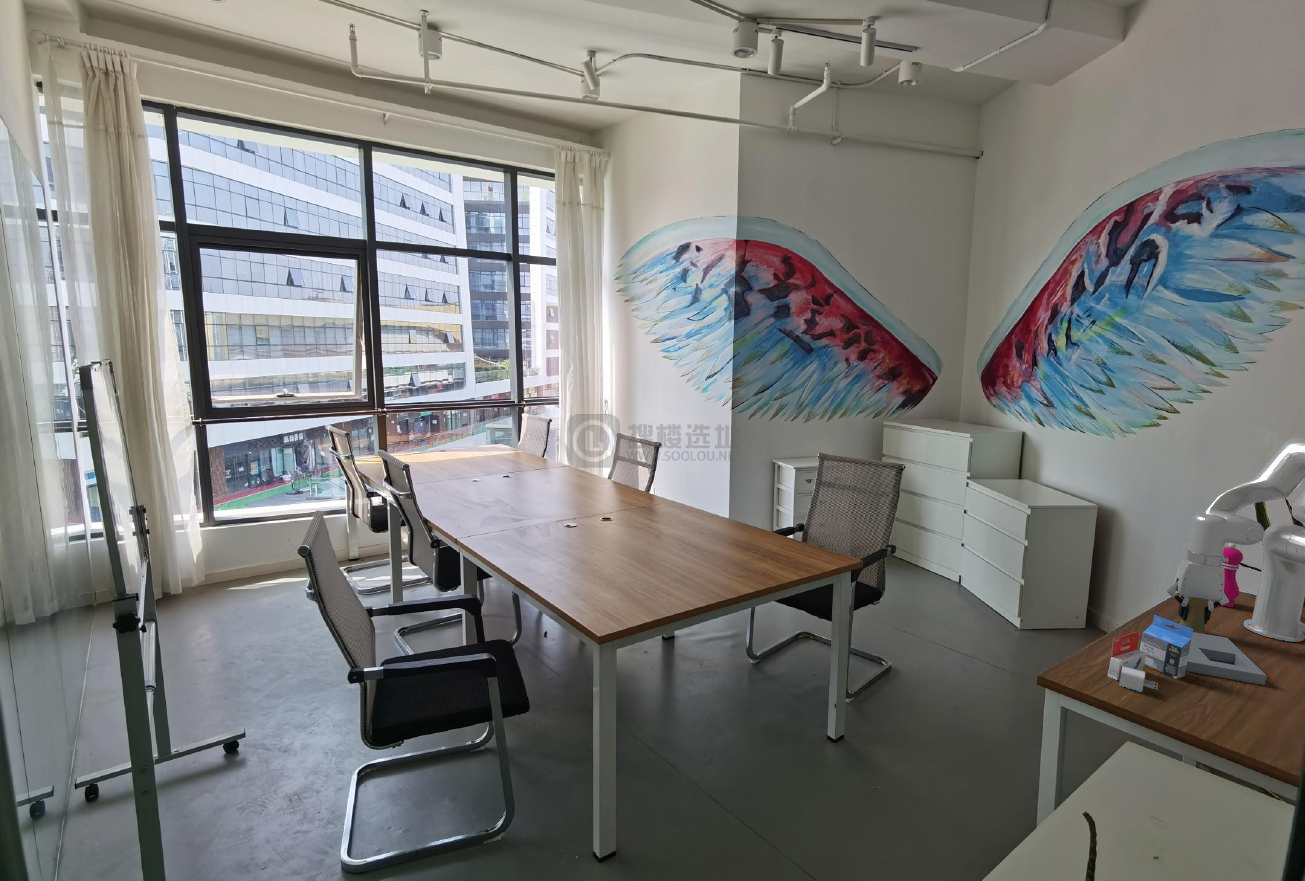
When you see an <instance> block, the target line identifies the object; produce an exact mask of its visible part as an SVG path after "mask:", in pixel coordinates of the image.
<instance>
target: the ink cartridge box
mask: <svg viewBox="0 0 1305 881" xmlns="http://www.w3.org/2000/svg"><path fill="white" fill-rule="evenodd" d="M1139 632H1140V631H1136V632H1135V631H1134V632H1132V633H1128V634H1125V635H1122V636H1119V637H1114V638H1113V639H1112V647H1111V657H1110V661H1109V667H1108V670H1107V678H1109V679H1112V678H1113V679H1112V680H1114V679H1115V680H1114V681H1116V680H1118V681H1120V677H1121V671H1122V666H1125V667H1129V668H1133V669H1136V670H1140V671H1143V672H1144V667H1145V665H1144V663H1145V658H1146V653H1144V652H1142V651H1140V649H1138V643H1139ZM1126 638H1127V639H1128V641H1126V642H1123V641H1125V639H1126Z"/></svg>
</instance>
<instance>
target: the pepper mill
mask: <svg viewBox="0 0 1305 881" xmlns="http://www.w3.org/2000/svg"><path fill="white" fill-rule="evenodd" d="M1236 545H1237V544H1233V543H1228V546H1226V547H1225V546H1224V551H1223V556H1224V557H1228V559H1229V560H1228V562H1223V563H1222V566H1223V567H1224V593H1225V595H1226V597H1227V598H1228V600H1229V603H1226V604H1223V605H1222V606H1228V607H1230V606H1231V607H1232V606H1236V600H1235V599H1236V598H1238V597H1239V596H1240V587H1239V585H1238V582H1237V578H1236V576H1237V575H1236V574H1237V570H1239V569H1240V563H1242V561H1243V560H1244V555H1243V552H1242V551H1241V550H1239V549H1237V548H1236V547H1237V546H1236ZM1222 606H1221V607H1222ZM1228 607H1227V608H1228Z"/></svg>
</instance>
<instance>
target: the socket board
mask: <svg viewBox="0 0 1305 881" xmlns="http://www.w3.org/2000/svg"><path fill="white" fill-rule="evenodd" d="M1173 629H1174V630H1177V631H1179V629H1178V628H1173ZM1231 663H1232V664H1231ZM1185 672H1190V673H1196V674H1201V675H1206V676H1213V677H1217V678H1223V679H1228V680H1234V681H1238V682H1239V681H1240V682H1245V683H1250V684H1256V685H1260V684H1261V686H1265V685H1266V681H1267V677H1268V676H1267V674H1265V672H1264V671H1262V669H1260V668H1259V667H1258V666H1257V665H1256V664H1255V663H1254V662H1253V660H1251V659H1250V658H1249V657H1248V656H1247V655H1246V654H1245V653H1244V652H1243V651H1241V649H1240V648H1238V647H1237V645H1235V643H1233V642H1232V641H1231V640H1230V639H1229V638H1228V637H1224V636H1220V635H1219V636H1218V635H1213V634H1206V633H1205V634H1201V633H1195V632H1193V633H1192V639H1191V645H1190V650H1189V655H1188V660H1187V666H1186V671H1185Z"/></svg>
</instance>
